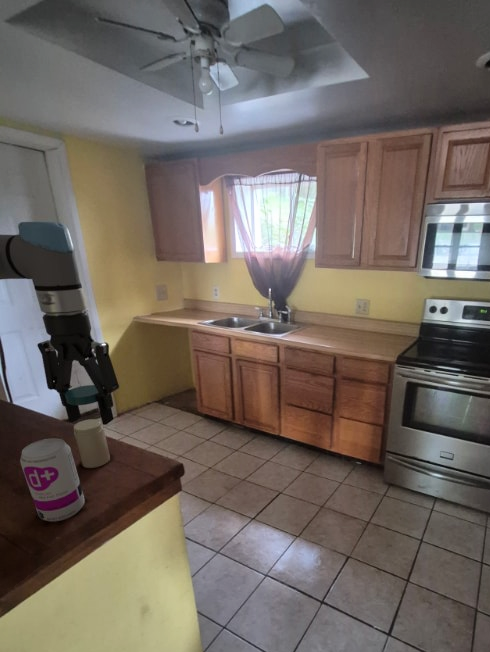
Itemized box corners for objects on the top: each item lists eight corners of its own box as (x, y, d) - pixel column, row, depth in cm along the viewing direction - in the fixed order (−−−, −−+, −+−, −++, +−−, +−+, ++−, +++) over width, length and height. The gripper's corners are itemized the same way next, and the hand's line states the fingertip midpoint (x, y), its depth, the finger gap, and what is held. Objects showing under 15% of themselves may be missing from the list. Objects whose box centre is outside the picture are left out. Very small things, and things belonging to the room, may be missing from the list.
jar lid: (86, 407, 73) (84, 399, 72) (58, 402, 75) (56, 395, 74) (112, 394, 79) (111, 387, 78) (86, 390, 81) (84, 383, 80)
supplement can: (71, 523, 73) (52, 458, 67) (30, 523, 73) (6, 458, 67) (93, 497, 80) (77, 437, 74) (55, 497, 80) (36, 436, 74)
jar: (76, 466, 91) (65, 429, 87) (92, 453, 97) (84, 417, 93) (100, 469, 90) (90, 431, 86) (115, 455, 96) (107, 419, 92)
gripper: (1, 314, 68) (36, 425, 77) (101, 317, 65) (125, 432, 74) (33, 307, 75) (62, 410, 84) (125, 310, 72) (144, 416, 81)
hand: (91, 420), depth 79 cm, fingers closed on jar lid, 7 cm apart
